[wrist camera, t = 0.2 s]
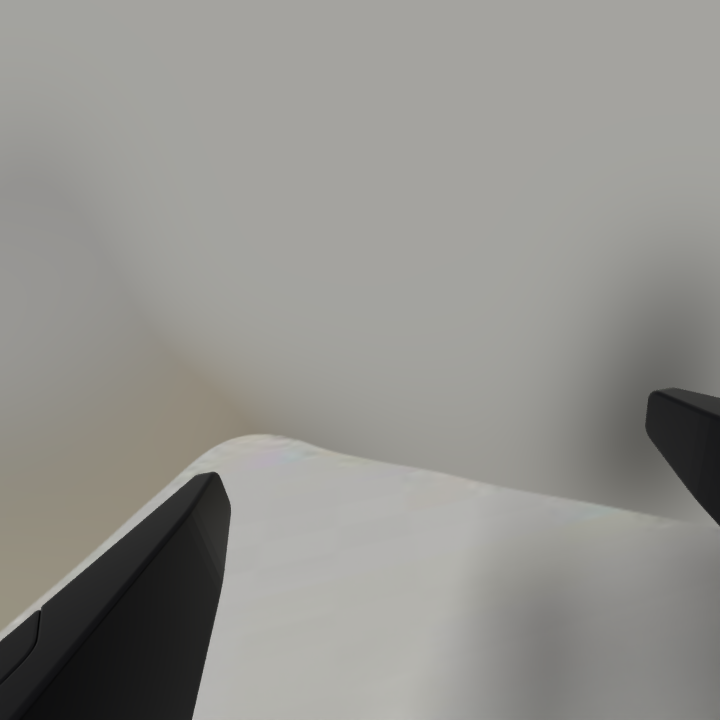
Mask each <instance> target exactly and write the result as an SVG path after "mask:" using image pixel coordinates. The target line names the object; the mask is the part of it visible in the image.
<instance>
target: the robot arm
mask: <svg viewBox="0 0 720 720" xmlns="http://www.w3.org/2000/svg"><path fill="white" fill-rule="evenodd" d="M645 427H646V432H647V434H648V436H649V438H650V439H651V441H652V442H653V443H654V445H655V446H656V447H657V449H658V450H659V451H660V453H661V454H662V455H663V457H664V458H665V459H666V461H667V462H668V463H669V465H670V466H671V467H672V469H673V470H674V471H675V473H676V474H677V476H678V477H679V478H680V479H681V481H682V482H683V483H684V485H685V486H686V488H687V489H688V490H689V491H690V493H691V494H692V495H693V496H694V498H695V499H696V500H697V501H698V502H699V503H700V505H701V506H702V507H703V508H704V509H705V510H706V512H708V514H709V515H710V516H711V517H712V518H713V519H714V520H715V521H716V522H717V524H718V525H719V526H720V398H718V397H714V396H709V395H705V394H700V393H696V392H692V391H687V390H683V389H678V388H666V389H661V390H656V391H653V392H652V393H650V395H649V398H648V405H647V414H646V423H645ZM230 517H231V505H230V501H229V499H228V496H227V493H226V491H225V488H224V486H223V483H222V481H221V478H220V476H219V475H218V473H216V472H209V473H203V474H198V475H196V476H194V477H193V478H192V479H191V480H190V481H189V482H187V483H186V484H185V485H184V486H183V487H181V488H180V489H179V490H178V491H177V492H176V493H174V494H173V495H172V496H171V497H170V498H169V499H167V500H166V501H165V502H164V503H163V504H162V505H160V506H159V507H158V508H157V509H156V510H154V511H153V512H152V513H151V514H150V515H149V516H147V517H146V518H145V519H144V520H143V521H142V522H140V523H139V524H138V525H137V526H136V527H134V528H133V529H132V530H131V531H130V532H129V533H127V534H126V535H125V536H124V537H123V538H122V539H120V540H119V541H118V542H117V543H116V544H114V545H113V546H112V547H111V548H110V549H109V550H107V551H106V552H105V553H104V554H103V555H102V556H100V557H99V558H98V559H97V560H96V561H95V562H93V563H92V564H91V565H90V566H89V567H87V568H86V569H85V570H84V571H83V572H82V573H80V574H79V575H78V576H77V577H76V578H75V579H73V580H72V581H71V582H70V583H69V584H67V585H66V586H65V587H64V588H63V589H62V590H60V591H59V592H58V593H57V594H56V595H55V596H53V597H52V598H51V599H50V600H49V601H47V602H46V603H45V604H44V605H43V606H42V607H41V610H37V611H36V612H34V613H33V614H32V615H31V616H30V617H29V618H27V619H26V620H25V621H24V622H23V623H22V624H20V625H19V626H18V627H17V628H16V629H15V630H13V631H12V632H11V633H10V634H9V635H7V636H6V637H5V638H4V639H2V640H1V641H0V720H192V717H193V713H194V708H195V704H196V700H197V695H198V691H199V686H200V682H201V678H202V673H203V669H204V664H205V660H206V656H207V651H208V647H209V642H210V638H211V634H212V629H213V625H214V620H215V616H216V612H217V607H218V603H219V598H220V594H221V589H222V584H223V577H224V570H225V561H226V552H227V543H228V534H229V526H230Z"/></svg>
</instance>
